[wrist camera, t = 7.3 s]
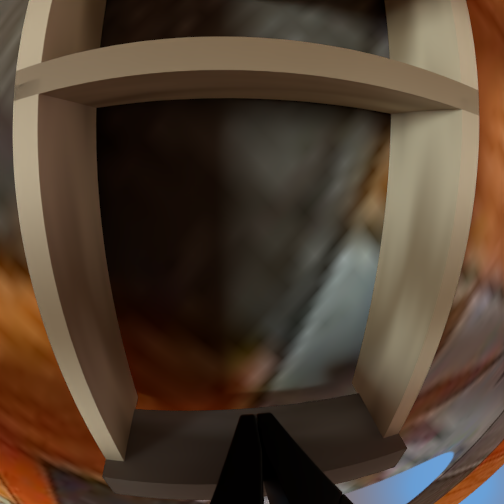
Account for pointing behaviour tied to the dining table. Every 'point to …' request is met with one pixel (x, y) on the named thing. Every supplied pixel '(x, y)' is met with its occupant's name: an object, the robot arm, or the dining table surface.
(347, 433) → the wooden rack
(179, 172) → the dining table surface
